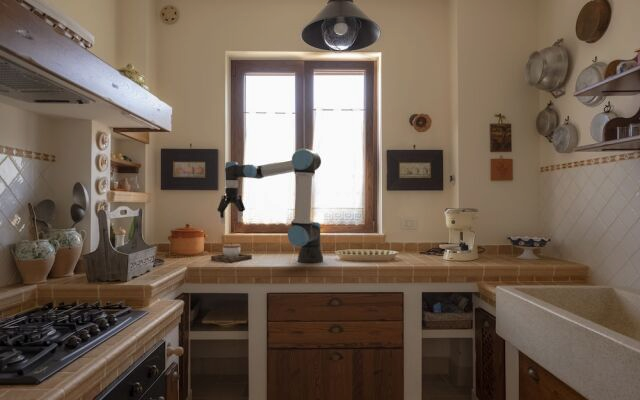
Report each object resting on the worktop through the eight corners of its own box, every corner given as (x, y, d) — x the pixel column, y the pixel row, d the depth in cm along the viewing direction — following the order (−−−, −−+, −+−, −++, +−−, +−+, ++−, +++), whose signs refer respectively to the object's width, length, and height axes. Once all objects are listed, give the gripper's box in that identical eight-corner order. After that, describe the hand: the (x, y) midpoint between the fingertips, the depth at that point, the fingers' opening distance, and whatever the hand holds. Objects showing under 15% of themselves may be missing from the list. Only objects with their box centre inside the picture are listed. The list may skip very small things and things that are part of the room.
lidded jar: (230, 259, 230) (230, 243, 230) (218, 257, 236) (218, 242, 236) (244, 257, 238) (244, 242, 238) (232, 255, 245) (232, 240, 245)
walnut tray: (251, 259, 240) (251, 254, 240) (230, 262, 226) (230, 258, 226) (232, 256, 249) (232, 252, 249) (211, 260, 235) (211, 256, 235)
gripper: (242, 188, 249) (242, 221, 250) (211, 187, 229) (211, 223, 229) (250, 187, 245) (250, 221, 245) (219, 187, 225) (220, 223, 225)
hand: (231, 222), depth 237 cm, fingers open, 13 cm apart
